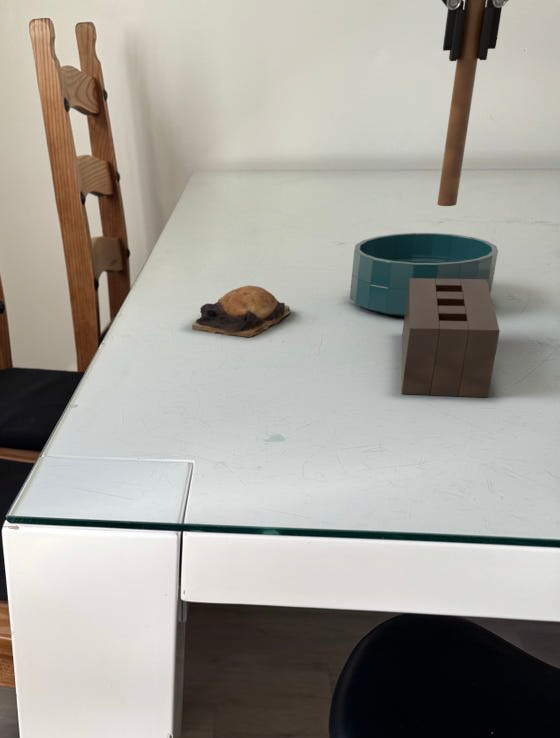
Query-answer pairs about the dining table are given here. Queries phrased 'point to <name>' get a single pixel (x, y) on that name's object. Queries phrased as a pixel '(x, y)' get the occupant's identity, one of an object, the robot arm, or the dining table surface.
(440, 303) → the holder
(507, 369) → the dining table surface
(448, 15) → the robot arm
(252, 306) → the turtle figurine
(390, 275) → the bowl
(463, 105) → the stick
